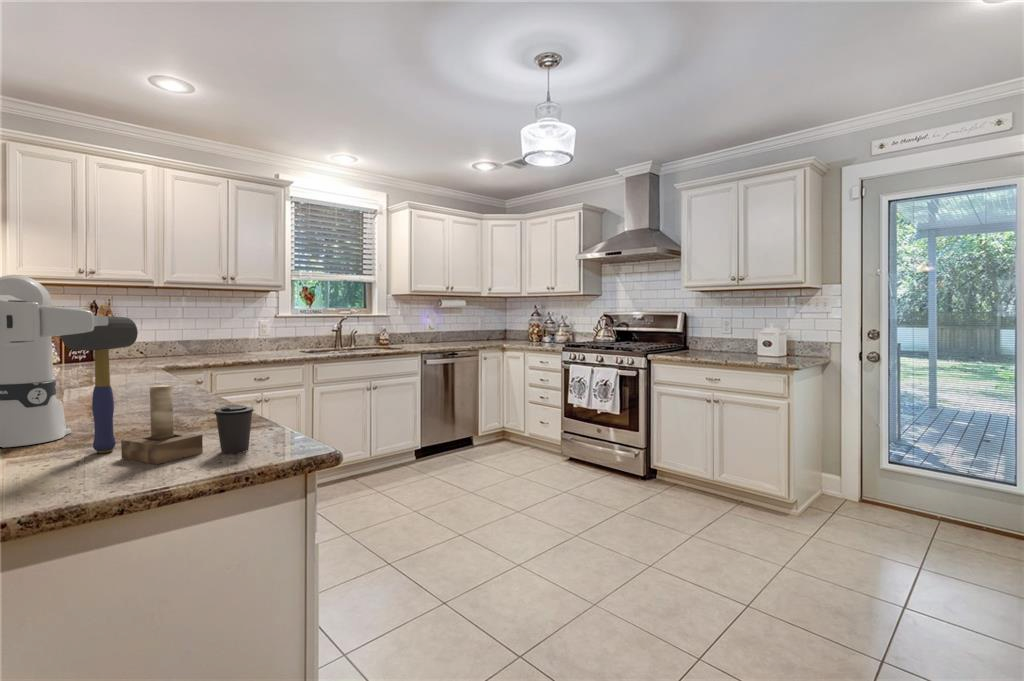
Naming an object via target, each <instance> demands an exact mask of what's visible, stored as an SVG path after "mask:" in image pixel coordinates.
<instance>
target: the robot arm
mask: <svg viewBox="0 0 1024 681" xmlns="http://www.w3.org/2000/svg"><path fill="white" fill-rule="evenodd" d="M51 305H52V297H51V294H50V292H49V291H48V289H47V288H46V287H45V286H43V284H42V283H40V282H39V281H37V280H35V279H34V278H31V277H28V276H24V275H19V274H8V275H2V276H0V447H2V448H12V447H13V448H14V447H15V448H16V447H22V446H24V447H25V446H30V445H36V444H42V443H47V442H51V441H56V440H59V439H62V438H64V437H65V436H66V435H69V434H71V433H72V429H71V428H69V427H68V428H67V426H66V419H65V413H64V412H65V411H64V405H63V402H62V401H61V400H60V399H58V398H57V397H56V396H55V395H57V388H58V386H57V381H56V379H54V363H53V362H54V361H53V358H54V357H53V344H52V342H53V340H52V337H58V336H60V337H61V335H70V334H78V333H86V332H90V331H93V330H94V326H106V325H108V317H107V316H108V315H95V314H94V312H93V311H91V310H85V309H77V308H70V307H69V308H67V307H57V306H51Z"/></svg>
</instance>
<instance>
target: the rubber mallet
mask: <svg viewBox="0 0 1024 681" xmlns="http://www.w3.org/2000/svg"><path fill="white" fill-rule="evenodd" d="M106 316H107V317H108V325H106V326H94V330H93V331H90V332H86V333H78V334H70V335H60V339H61V340H62V342H63V345H65V347H66V348H68V349H70V350H73V351H94V378H95V379H94V385H95V386H94V387H93V392H92V402H91V403H92V405H91V408H92V416H93V420H94V424H93V426H94V438H93V442H92V448H93V449H94V451H96V453H98V454H106V453H110V452H113V451H114V448H115V447H116V444H117V443H116V438H115V436H114V413H115V412H114V410H115V402H114V401H115V400H114V393H113V387H112V385H111V373H110V370H111V369H110V354H109V353H110V352H109V350H114V349H122V348H128V347H131V346H132V345H134V343H135V342H136V341H137V339H138V335H139V332H138V327H137V325H136V323H135V321H134V320H132V319H130V318H129V317H126V316H112V315H106Z"/></svg>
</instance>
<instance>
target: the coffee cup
mask: <svg viewBox="0 0 1024 681" xmlns="http://www.w3.org/2000/svg"><path fill="white" fill-rule="evenodd" d="M254 411H255V409H254V408H253V407H252V406H247V405H244V404H243V405H237V404H235V405H228V406H223V407H221V408H218V409H215V410H214V412H213V415H215V418H216V425H217V433H218V439H219V444H220V452H221V453H222V454H224V453H235V454H239V453H238V452H241V453H244V452H243V451H245V452H247V451H248V450H250V449H249V447H250V446H249V445H250V438H251V437H250V435H251V428H252V418H253V416H252V415H253V412H254ZM246 450H247V451H246Z"/></svg>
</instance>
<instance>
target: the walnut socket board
mask: <svg viewBox="0 0 1024 681" xmlns="http://www.w3.org/2000/svg"><path fill="white" fill-rule="evenodd" d="M173 433H174V437H172V438H171V439H167V440H162V441H153V439H151V433H148V434H143V435H139V436H134V437H129V438H125V439H121V440H120V443H121V444H120V446H121V447H120V448H121V449H120V450H121V459H122V460H127V461H132V460H133V461H132V462H138V461H139V463H144V462H145V464H150V463H152V464H151V465H156V464H158V465H161V463H162V464H165V463H169V462H172V461H171V460H173V461H175V459H177V460H179V458H180V459H184V458H187V457H191V456H195V455H199V454H203V452H204V451H203V448H204V447H203V434H200V433H192V432H186V431H185V432H184V431H176V430H173ZM183 457H184V458H183ZM168 461H169V462H168ZM164 462H165V463H164Z"/></svg>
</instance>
